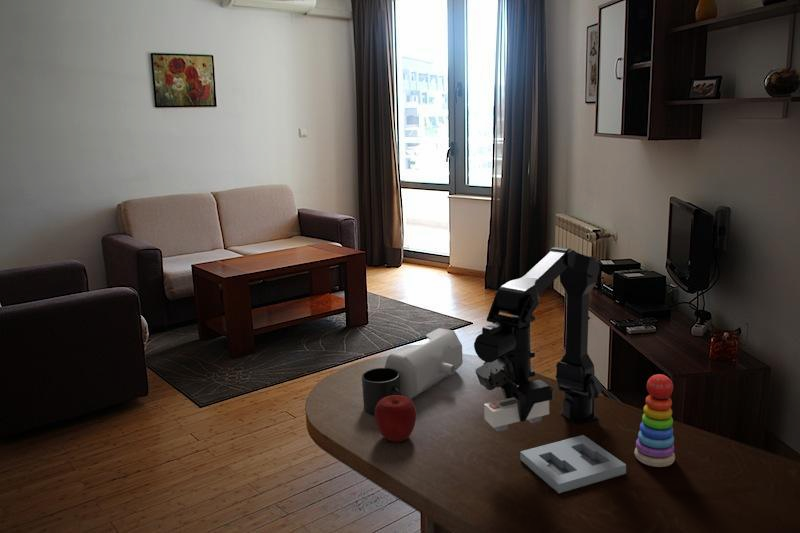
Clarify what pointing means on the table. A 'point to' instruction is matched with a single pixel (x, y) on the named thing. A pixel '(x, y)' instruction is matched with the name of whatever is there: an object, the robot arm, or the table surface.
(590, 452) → the keyhole board
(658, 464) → the stacking toy
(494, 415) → the power strip
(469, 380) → the table surface
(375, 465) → the table surface
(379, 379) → the mug
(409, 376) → the tank
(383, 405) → the apple
